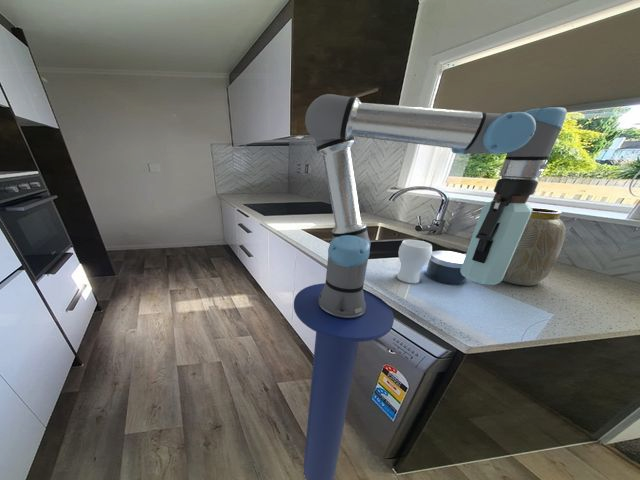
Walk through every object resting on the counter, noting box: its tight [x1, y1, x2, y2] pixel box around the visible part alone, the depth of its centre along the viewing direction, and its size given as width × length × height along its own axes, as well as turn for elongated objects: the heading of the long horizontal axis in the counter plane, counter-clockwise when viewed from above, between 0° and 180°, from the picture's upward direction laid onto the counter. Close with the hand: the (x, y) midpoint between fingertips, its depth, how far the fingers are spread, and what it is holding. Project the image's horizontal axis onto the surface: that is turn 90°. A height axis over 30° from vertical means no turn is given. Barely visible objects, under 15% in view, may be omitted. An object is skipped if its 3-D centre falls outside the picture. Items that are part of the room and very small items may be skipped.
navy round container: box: [425, 250, 466, 286], centre depth 96 cm, size 13×13×9 cm
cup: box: [396, 239, 433, 284], centre depth 94 cm, size 11×11×15 cm
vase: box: [501, 207, 567, 287], centre depth 91 cm, size 17×17×27 cm
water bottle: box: [460, 193, 533, 286], centre depth 68 cm, size 10×10×25 cm
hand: (487, 257), depth 71 cm, fingers closed on water bottle, 10 cm apart
